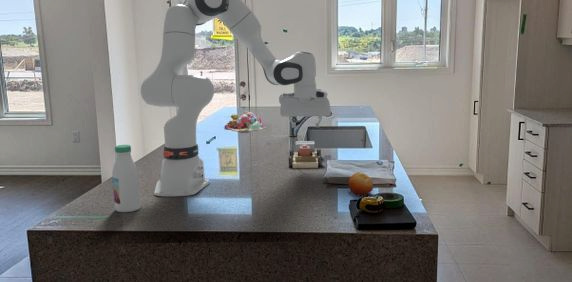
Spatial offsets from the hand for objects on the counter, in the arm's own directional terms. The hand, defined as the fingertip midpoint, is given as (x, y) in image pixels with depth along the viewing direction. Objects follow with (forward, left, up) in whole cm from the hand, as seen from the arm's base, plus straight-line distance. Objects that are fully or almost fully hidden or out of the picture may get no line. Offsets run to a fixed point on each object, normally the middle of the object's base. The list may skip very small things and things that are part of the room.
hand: (305, 127), depth 206 cm
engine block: (+1, 0, -13) cm, 13 cm away
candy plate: (+90, +34, -16) cm, 98 cm away
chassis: (+4, 0, -15) cm, 16 cm away
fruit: (-41, -18, -16) cm, 47 cm away
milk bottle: (-53, +55, -16) cm, 78 cm away
